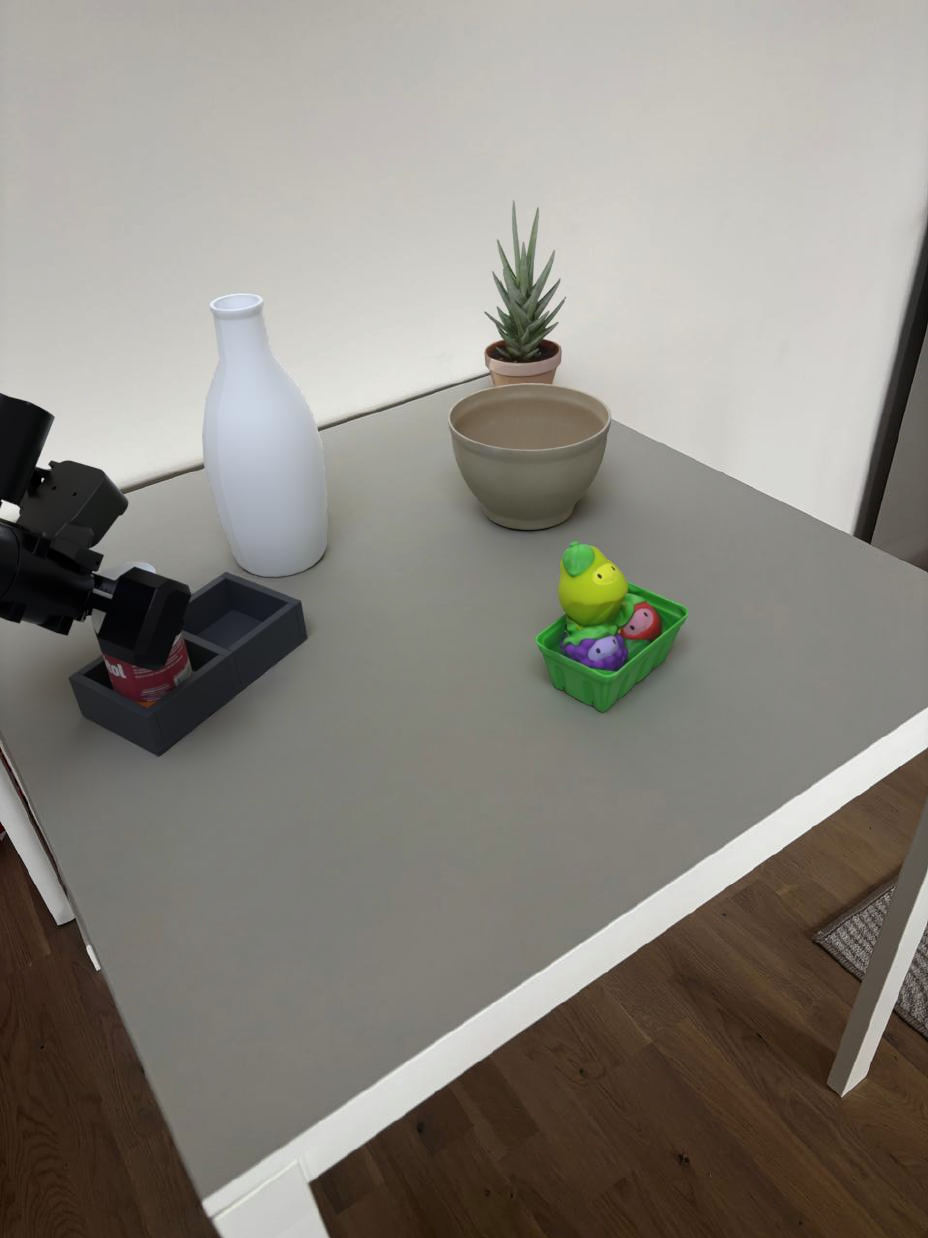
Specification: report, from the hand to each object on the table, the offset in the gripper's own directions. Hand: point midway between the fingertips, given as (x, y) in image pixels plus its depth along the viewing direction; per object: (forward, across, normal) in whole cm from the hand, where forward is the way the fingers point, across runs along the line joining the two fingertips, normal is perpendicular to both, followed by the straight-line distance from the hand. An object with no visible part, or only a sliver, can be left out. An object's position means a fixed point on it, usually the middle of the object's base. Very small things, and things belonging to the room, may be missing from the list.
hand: (150, 616), depth 76 cm
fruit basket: (+19, -30, -8) cm, 37 cm away
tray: (+8, 0, +4) cm, 9 cm away
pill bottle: (+4, 0, +6) cm, 7 cm away
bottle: (+21, +6, -10) cm, 24 cm away
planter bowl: (+34, -12, -23) cm, 43 cm away
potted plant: (+50, 0, -40) cm, 64 cm away
